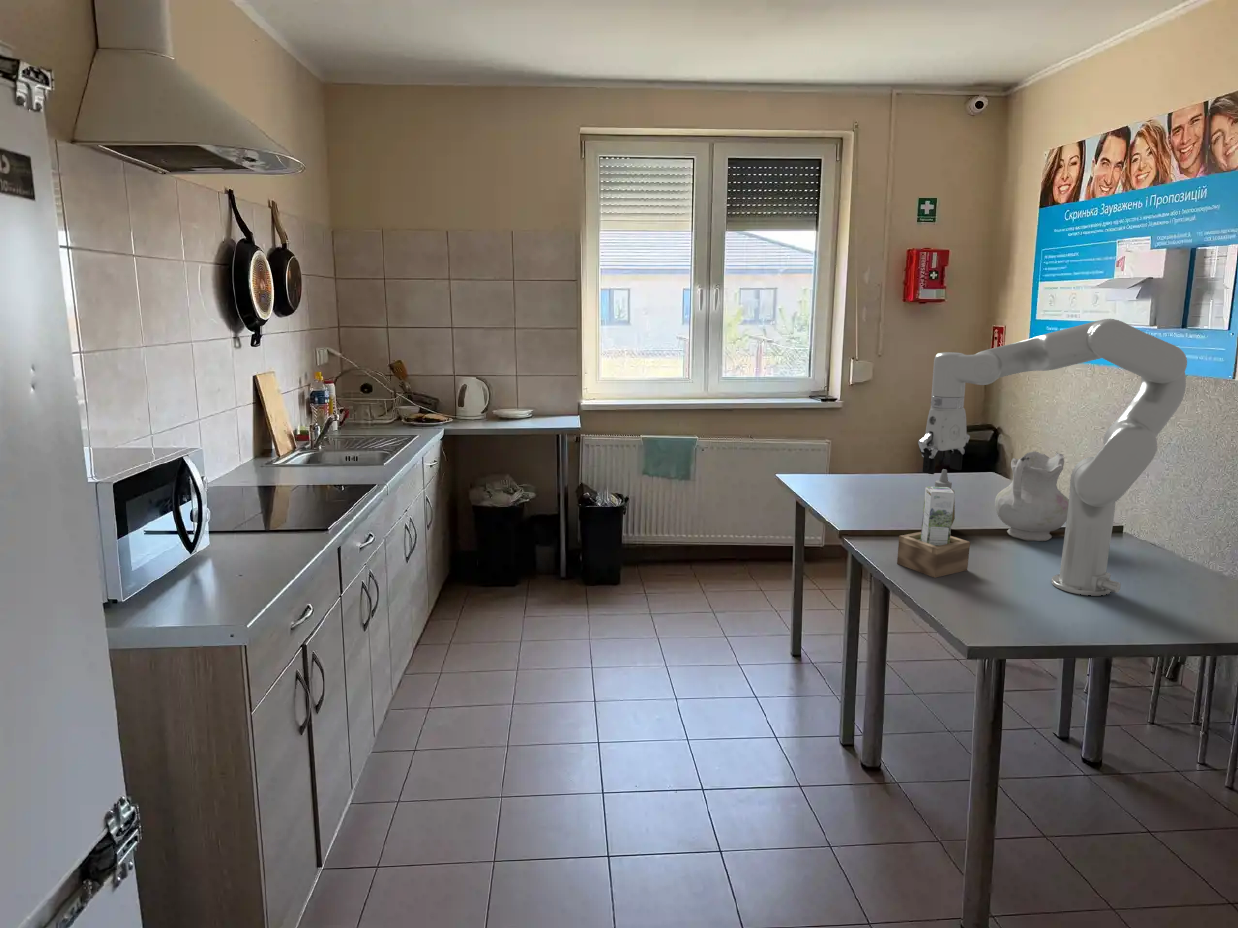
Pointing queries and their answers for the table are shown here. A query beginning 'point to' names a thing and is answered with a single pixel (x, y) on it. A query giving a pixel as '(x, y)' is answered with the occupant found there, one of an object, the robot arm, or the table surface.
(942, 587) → the table surface
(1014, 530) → the ceramic pitcher
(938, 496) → the syrup box
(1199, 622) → the table surface
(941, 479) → the squeeze bottle
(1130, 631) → the table surface
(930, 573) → the wooden box
